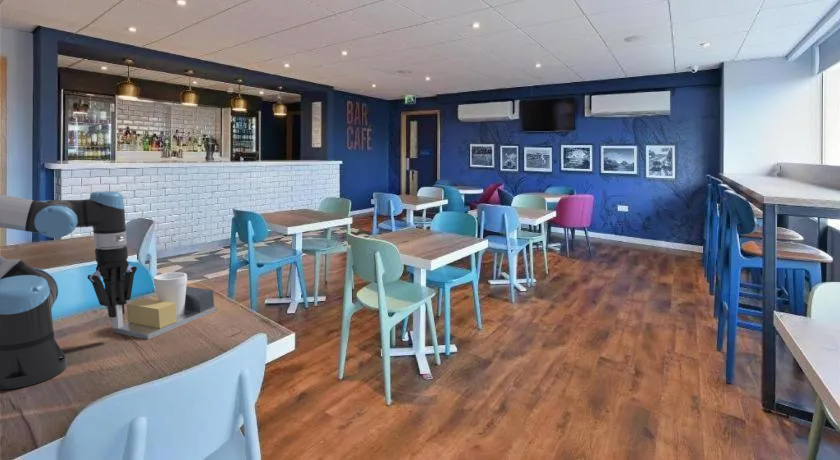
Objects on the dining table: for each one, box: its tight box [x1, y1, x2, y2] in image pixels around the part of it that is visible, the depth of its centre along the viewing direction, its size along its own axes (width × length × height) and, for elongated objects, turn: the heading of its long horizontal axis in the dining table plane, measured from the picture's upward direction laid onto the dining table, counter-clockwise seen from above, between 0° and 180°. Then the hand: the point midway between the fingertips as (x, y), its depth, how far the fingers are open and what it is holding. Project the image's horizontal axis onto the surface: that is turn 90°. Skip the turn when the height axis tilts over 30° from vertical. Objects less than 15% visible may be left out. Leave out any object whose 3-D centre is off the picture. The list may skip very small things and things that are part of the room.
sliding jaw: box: [126, 297, 177, 328], centre depth 138 cm, size 6×13×6 cm, turn 71°
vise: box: [112, 285, 217, 340], centre depth 143 cm, size 26×14×8 cm, turn 161°
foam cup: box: [153, 271, 188, 317], centre depth 145 cm, size 10×9×13 cm
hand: (117, 326), depth 128 cm, fingers closed
